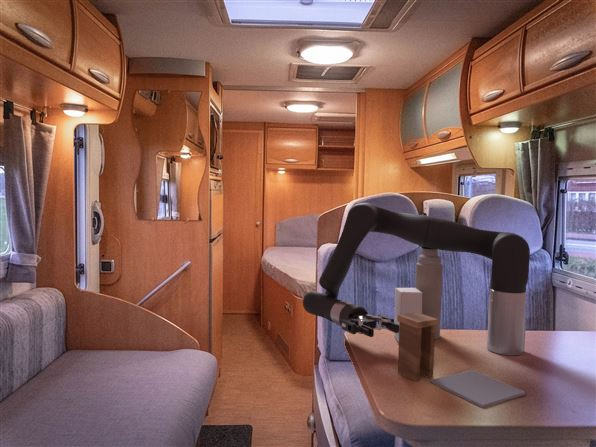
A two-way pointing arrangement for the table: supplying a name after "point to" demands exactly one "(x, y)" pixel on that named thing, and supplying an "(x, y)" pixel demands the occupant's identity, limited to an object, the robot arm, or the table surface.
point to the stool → (416, 345)
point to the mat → (478, 388)
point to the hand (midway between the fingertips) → (385, 331)
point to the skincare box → (407, 303)
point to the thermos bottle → (430, 284)
